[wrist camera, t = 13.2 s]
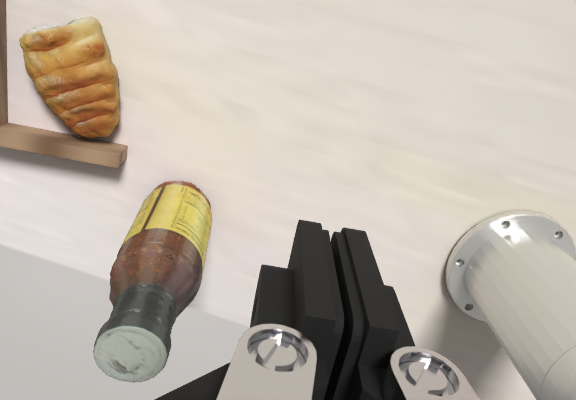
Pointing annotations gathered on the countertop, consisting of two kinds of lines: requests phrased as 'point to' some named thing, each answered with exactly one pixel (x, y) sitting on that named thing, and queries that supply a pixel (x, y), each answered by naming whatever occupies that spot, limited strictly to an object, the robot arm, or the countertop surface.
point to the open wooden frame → (49, 140)
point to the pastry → (75, 74)
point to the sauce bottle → (154, 281)
